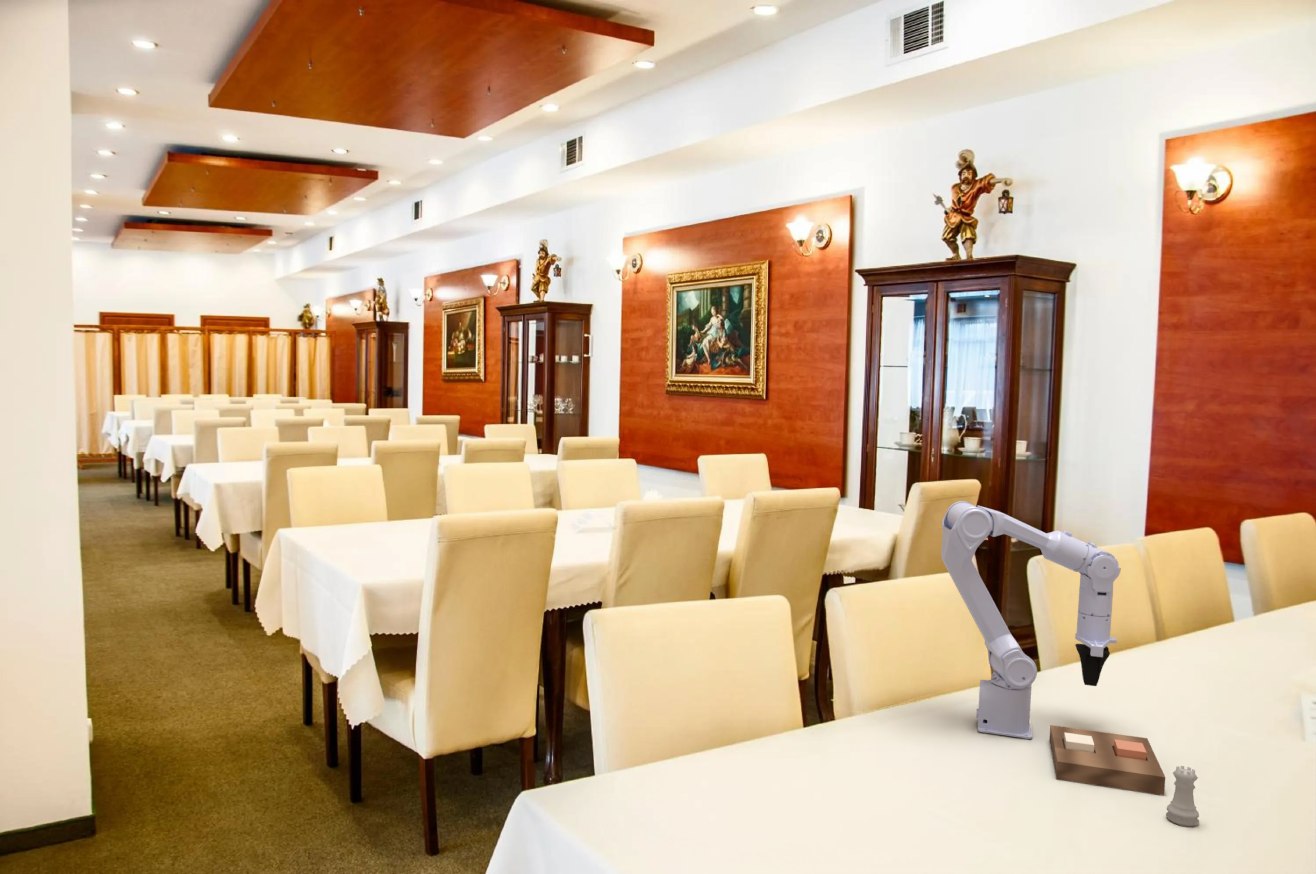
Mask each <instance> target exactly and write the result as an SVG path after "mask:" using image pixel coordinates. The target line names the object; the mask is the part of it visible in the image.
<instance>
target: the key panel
mask: <svg viewBox="0 0 1316 874" xmlns="http://www.w3.org/2000/svg"><path fill="white" fill-rule="evenodd" d="M1049 727H1050V728H1049V746H1050V752H1051V756H1052V763H1053V768H1054V774H1055V778H1056V780H1059V781H1060V780H1061V781H1068V782H1073V783H1080V784H1086V785H1087V784H1088V785H1093V786H1100V787H1106V788H1112V789H1119V790H1125V791H1132V792H1140V793H1145V794H1146V793H1147V794H1151V795H1157V796H1165V790H1166V789H1165V787H1166V776H1165V774H1164V772H1163V769H1162V767H1161V765H1160V762H1159V760H1158V759H1157V756H1156V754H1155V752H1154V750H1153V747H1152V745H1151V743H1150V741H1149V739H1148V738H1147V737H1141V736H1134V735H1133V736H1132V735H1125V734H1118V733H1111V732H1105V731H1099V730H1098V731H1097V730H1091V729H1089V730H1088V729H1083V728H1074V727H1067V726H1060V725H1052V724H1050V725H1049ZM1064 732H1065V733H1072V734H1079V735H1086V736H1092V739H1093V742H1094V753H1091V752H1084V751H1077V750H1070V749H1064ZM1114 739H1116V740H1123V741H1130V742H1137V743H1143V746H1144V748H1145V750H1146V752H1147V754H1146V760H1140V759H1133V758H1126V757H1119V756H1115V753H1114Z"/></svg>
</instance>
